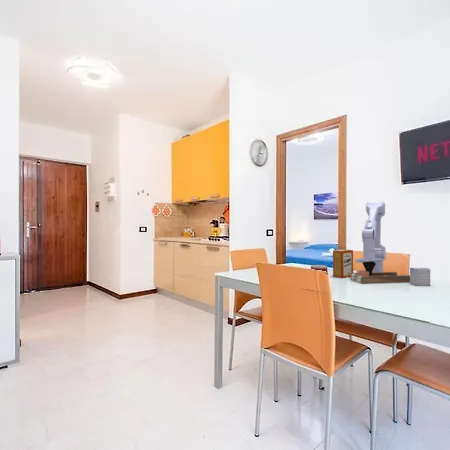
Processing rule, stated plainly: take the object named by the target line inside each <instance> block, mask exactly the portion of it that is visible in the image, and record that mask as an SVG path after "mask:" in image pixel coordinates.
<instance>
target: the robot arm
mask: <svg viewBox="0 0 450 450" xmlns="http://www.w3.org/2000/svg"><path fill="white" fill-rule="evenodd" d="M365 211H366V214H367V216H368V219H366V220H365V224H364V228H363V229H362V230H361V238H362V240H361V241H362V245H363V247H362V248H363V249H362V251H363V252H362V253H363V255H362V258H355V263H356V264H360V263H362V266H363V267H364V270H365V271H368V272H369V276H371V275H372V273H378V272H384V261H385V260H386V258H387V251H386V247H385V246H384V245H382V244H381V237H382V235H381V233H382V231H381V230H382V227H381V225H382V224H381V223H382V218H383V217H385V214H386V203H385V202H384V201H377V202H376V201H375V202H372V201H371V202H370V201H369V202H368V201H367V202H366V204H365Z"/></svg>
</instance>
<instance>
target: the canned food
mask: <svg viewBox="0 0 450 450" xmlns="http://www.w3.org/2000/svg"><path fill="white" fill-rule="evenodd" d="M311 269H315V270H322V271H326V272H327V273H328V266H327V265H323V264H312V265H310V270H311Z"/></svg>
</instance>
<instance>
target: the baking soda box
mask: <svg viewBox="0 0 450 450" xmlns="http://www.w3.org/2000/svg"><path fill="white" fill-rule="evenodd" d="M351 273H354V250H352V249H334V250H332V276H333V277H334V278H338V277H339V278H340V279H345V278H346V279H348V278H351ZM333 277H332V278H333ZM347 277H348V278H347ZM339 278H338V279H339Z"/></svg>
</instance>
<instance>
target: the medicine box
mask: <svg viewBox="0 0 450 450" xmlns="http://www.w3.org/2000/svg"><path fill="white" fill-rule="evenodd" d="M409 275H410V282H409V284H410V285H411V286H413V285H414V286H413V287H417V286H418V287H419V286H420V287H421V286H422V287H424V286H426V287H427V286H429V287H431V269H430V268H429V267H410V268H409Z"/></svg>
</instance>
